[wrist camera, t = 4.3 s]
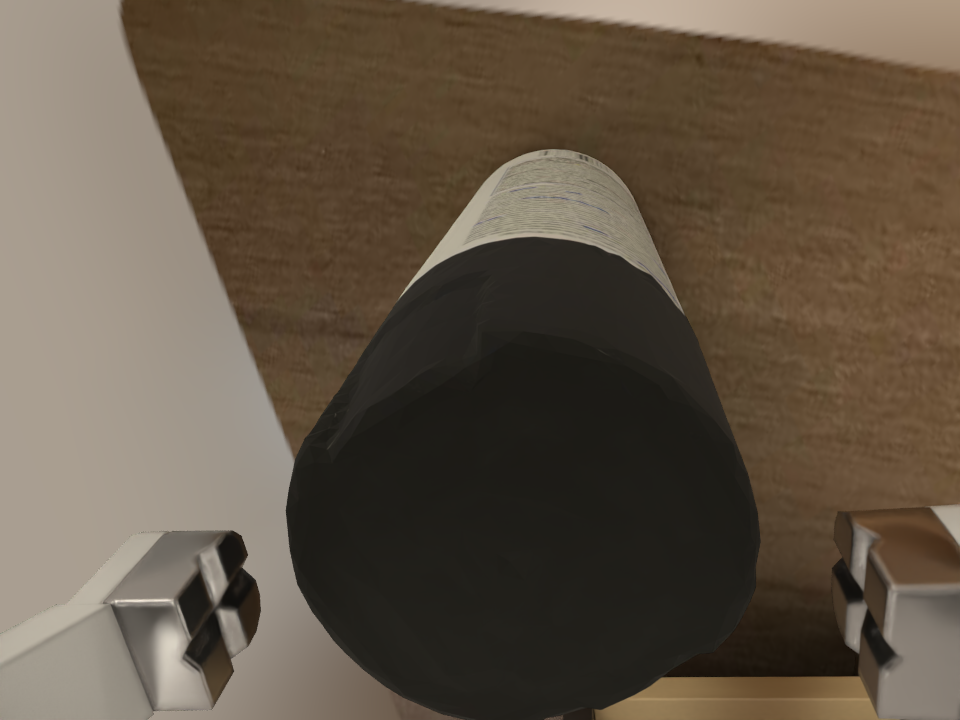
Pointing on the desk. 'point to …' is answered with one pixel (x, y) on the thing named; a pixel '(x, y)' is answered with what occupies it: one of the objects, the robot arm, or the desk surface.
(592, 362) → the spray can
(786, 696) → the shelf
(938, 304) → the desk surface
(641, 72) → the desk surface
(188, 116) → the desk surface
